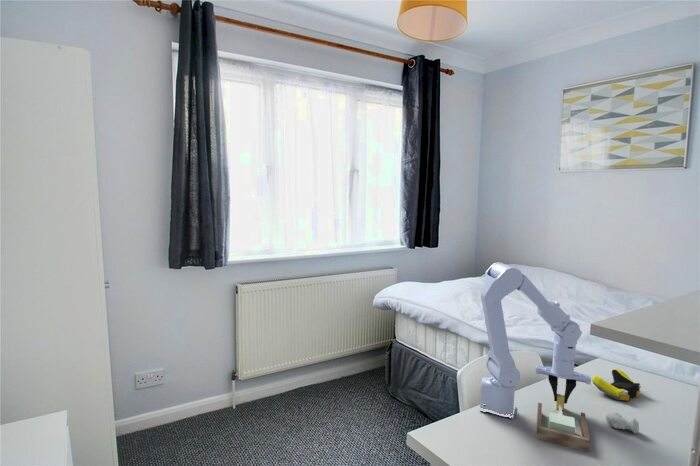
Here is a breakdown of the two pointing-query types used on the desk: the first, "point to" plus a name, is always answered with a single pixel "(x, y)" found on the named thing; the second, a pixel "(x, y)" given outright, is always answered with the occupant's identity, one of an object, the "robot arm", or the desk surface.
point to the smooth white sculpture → (622, 422)
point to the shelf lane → (564, 434)
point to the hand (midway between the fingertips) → (560, 400)
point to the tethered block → (561, 418)
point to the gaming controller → (618, 386)
